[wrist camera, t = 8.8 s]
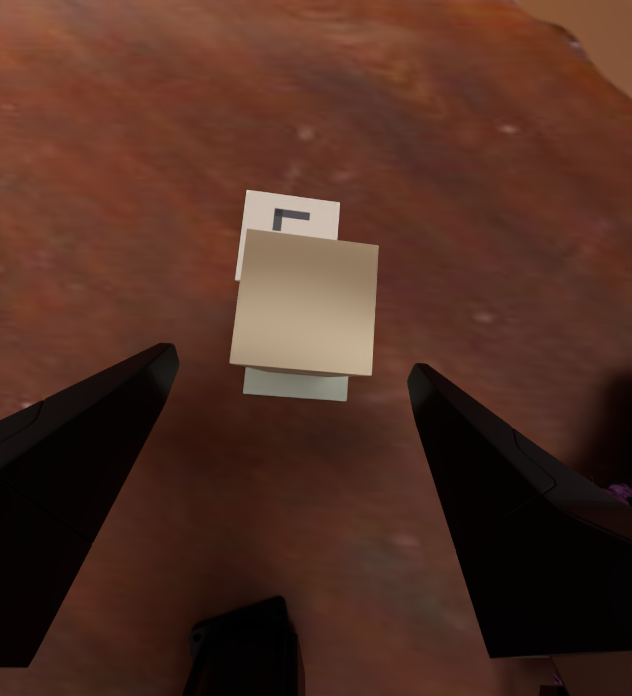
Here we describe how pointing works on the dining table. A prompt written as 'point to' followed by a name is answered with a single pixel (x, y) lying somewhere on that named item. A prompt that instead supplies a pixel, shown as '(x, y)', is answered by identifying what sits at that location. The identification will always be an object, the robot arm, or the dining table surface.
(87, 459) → the robot arm
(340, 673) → the dining table surface
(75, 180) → the dining table surface
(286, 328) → the pillar
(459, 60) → the dining table surface
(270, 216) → the tile
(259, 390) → the felt pad
